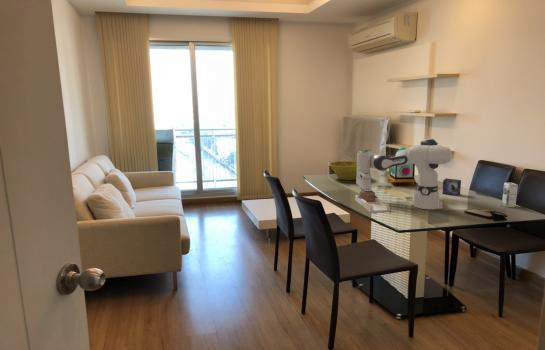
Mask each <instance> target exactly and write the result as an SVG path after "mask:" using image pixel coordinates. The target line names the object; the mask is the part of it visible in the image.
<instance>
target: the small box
mask: <svg viewBox="0 0 545 350" xmlns="http://www.w3.org/2000/svg"><path fill="white" fill-rule="evenodd" d="M461 185H462V179H454V178H453V179H452V178H447V177H446V178H445V179H443V180H442V194H441V195H447V196H454V197H455V196H456V197H458V196H459V195H461V188H462V187H461Z"/></svg>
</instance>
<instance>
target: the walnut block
mask: <svg viewBox="0 0 545 350" xmlns="http://www.w3.org/2000/svg"><path fill="white" fill-rule="evenodd" d="M359 196H361V197H362V199H364V200H365V201H366V202H373V201H375V196H376V191H373V190H365V191H361V190H360V191H359Z"/></svg>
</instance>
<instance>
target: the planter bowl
mask: <svg viewBox="0 0 545 350" xmlns="http://www.w3.org/2000/svg"><path fill="white" fill-rule="evenodd" d="M328 165H329V166H330V168H331V170H332V171H334V173H335V176H336V177H337V178H338V179H339V180H344V181H352V180H353V181H354V180H356V176H357V160H339V161H333V162H329V163H328Z"/></svg>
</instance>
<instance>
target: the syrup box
mask: <svg viewBox="0 0 545 350" xmlns="http://www.w3.org/2000/svg"><path fill="white" fill-rule="evenodd" d="M518 186H519V184H516V183H514V182H504V183H503V191H502V201H501V205H502V206H503V207H506V208H516V207H517V205H516V203H517V197H518V195H517V194H518Z"/></svg>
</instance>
